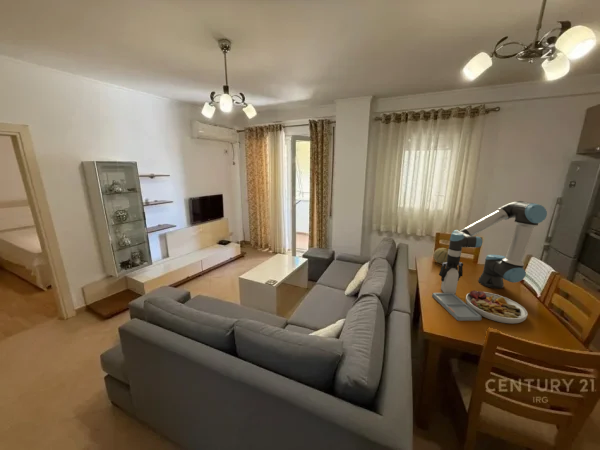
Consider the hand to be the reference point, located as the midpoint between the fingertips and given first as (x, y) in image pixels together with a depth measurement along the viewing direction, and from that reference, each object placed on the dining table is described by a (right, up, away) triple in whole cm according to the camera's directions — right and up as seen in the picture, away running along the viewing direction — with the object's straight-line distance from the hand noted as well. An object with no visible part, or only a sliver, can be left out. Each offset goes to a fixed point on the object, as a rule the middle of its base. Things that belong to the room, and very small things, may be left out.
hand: (449, 285), depth 172 cm
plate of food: (+15, -11, -21) cm, 28 cm away
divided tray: (-7, -10, -17) cm, 21 cm away
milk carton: (0, -5, +1) cm, 5 cm away
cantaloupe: (+25, +7, +51) cm, 57 cm away
